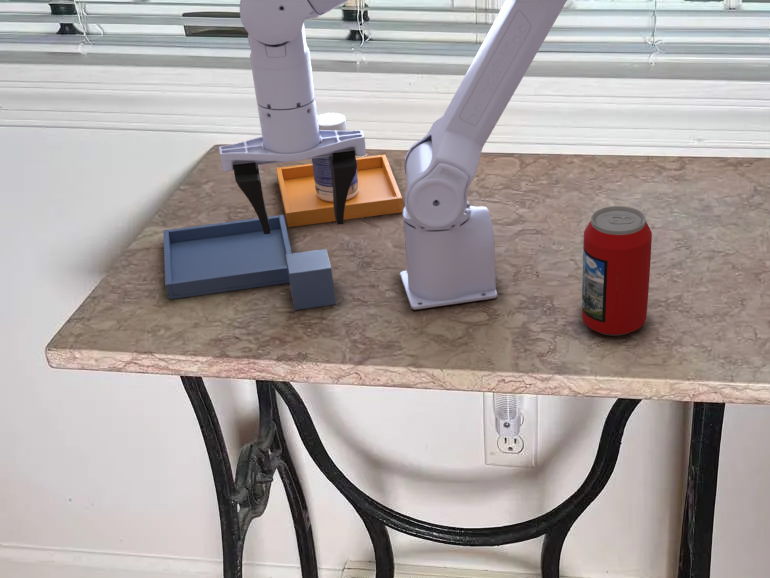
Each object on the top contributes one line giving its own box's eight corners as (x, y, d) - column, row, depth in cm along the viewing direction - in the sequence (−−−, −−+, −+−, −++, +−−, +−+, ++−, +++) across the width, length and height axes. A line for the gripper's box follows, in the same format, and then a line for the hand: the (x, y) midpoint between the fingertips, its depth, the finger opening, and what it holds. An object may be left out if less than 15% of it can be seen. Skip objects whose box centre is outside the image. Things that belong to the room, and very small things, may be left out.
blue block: (330, 284, 132) (326, 248, 129) (335, 304, 129) (331, 268, 126) (290, 290, 131) (285, 253, 129) (294, 310, 128) (289, 273, 125)
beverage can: (580, 306, 127) (583, 203, 119) (644, 306, 126) (651, 202, 118) (581, 340, 121) (584, 234, 114) (648, 340, 121) (655, 234, 113)
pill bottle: (352, 204, 146) (344, 128, 140) (310, 202, 147) (301, 126, 141) (364, 185, 150) (356, 111, 144) (323, 183, 151) (314, 109, 145)
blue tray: (285, 228, 143) (283, 214, 142) (296, 281, 133) (294, 266, 132) (166, 244, 141) (163, 230, 140) (168, 299, 131) (165, 284, 130)
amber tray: (386, 167, 155) (385, 154, 154) (403, 212, 145) (402, 197, 144) (278, 181, 153) (276, 167, 152) (287, 227, 143) (285, 213, 142)
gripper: (353, 76, 120) (365, 200, 129) (209, 92, 118) (231, 216, 127) (363, 102, 115) (375, 229, 124) (212, 119, 113) (235, 247, 122)
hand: (303, 225), depth 125 cm, fingers open, 7 cm apart
